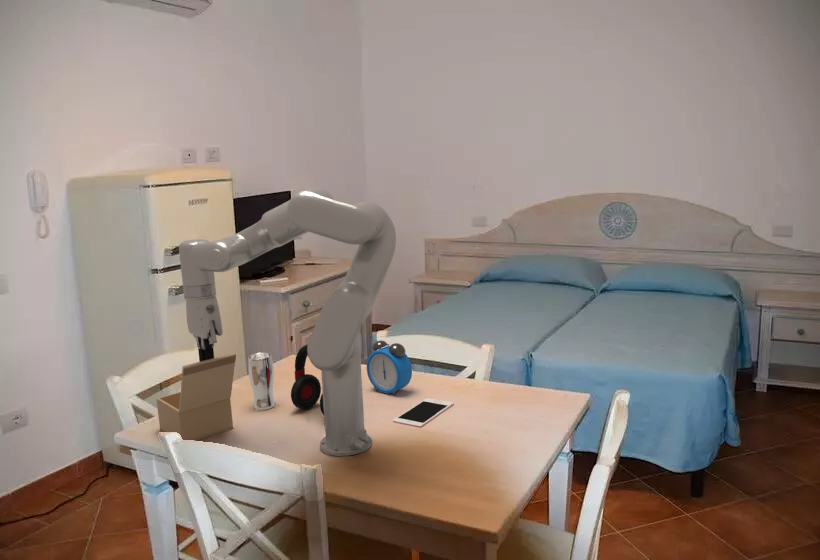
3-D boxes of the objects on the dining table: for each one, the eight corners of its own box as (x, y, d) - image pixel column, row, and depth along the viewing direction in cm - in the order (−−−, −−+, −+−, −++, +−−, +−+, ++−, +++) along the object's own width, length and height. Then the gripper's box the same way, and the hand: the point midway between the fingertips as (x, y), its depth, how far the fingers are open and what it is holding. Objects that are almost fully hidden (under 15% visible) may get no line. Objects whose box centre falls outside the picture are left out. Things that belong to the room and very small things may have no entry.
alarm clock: (367, 390, 207) (364, 341, 204) (380, 384, 212) (377, 336, 209) (400, 398, 199) (398, 348, 196) (414, 391, 204) (411, 342, 201)
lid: (229, 396, 181) (230, 397, 181) (179, 411, 172) (180, 412, 172) (234, 352, 175) (236, 354, 174) (182, 366, 166) (183, 367, 166)
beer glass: (279, 401, 201) (275, 351, 198) (272, 410, 194) (268, 359, 192) (256, 401, 202) (251, 352, 199) (248, 410, 195) (243, 359, 192)
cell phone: (454, 405, 193) (454, 402, 193) (420, 429, 178) (420, 426, 178) (427, 400, 197) (426, 397, 197) (392, 423, 183) (391, 420, 182)
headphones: (287, 412, 193) (281, 342, 189) (314, 401, 200) (309, 334, 196) (329, 426, 181) (324, 353, 178) (356, 414, 189) (352, 344, 185)
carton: (233, 428, 183) (230, 396, 181) (182, 445, 174) (178, 411, 172) (209, 414, 193) (205, 384, 192) (160, 430, 184) (156, 398, 183)
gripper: (228, 292, 165) (235, 365, 169) (200, 284, 176) (207, 353, 180) (198, 297, 160) (206, 373, 164) (172, 289, 171) (180, 360, 175)
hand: (207, 363), depth 172 cm, fingers closed
